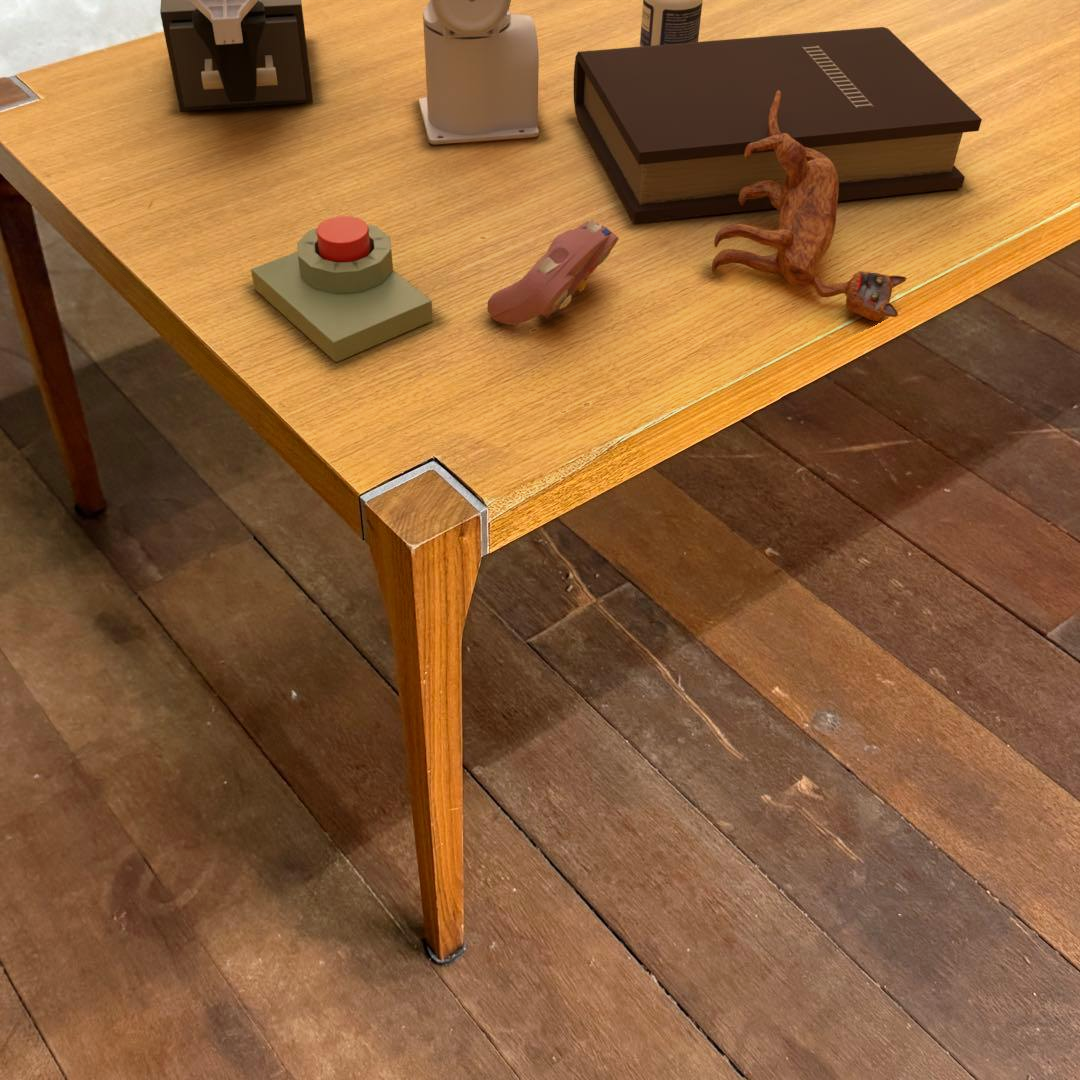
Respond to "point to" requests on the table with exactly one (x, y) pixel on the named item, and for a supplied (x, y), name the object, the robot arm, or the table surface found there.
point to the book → (766, 118)
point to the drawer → (274, 64)
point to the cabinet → (275, 3)
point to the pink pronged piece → (554, 275)
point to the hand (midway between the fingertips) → (242, 97)
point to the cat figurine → (803, 225)
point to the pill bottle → (670, 22)
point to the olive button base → (343, 296)
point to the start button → (343, 239)
